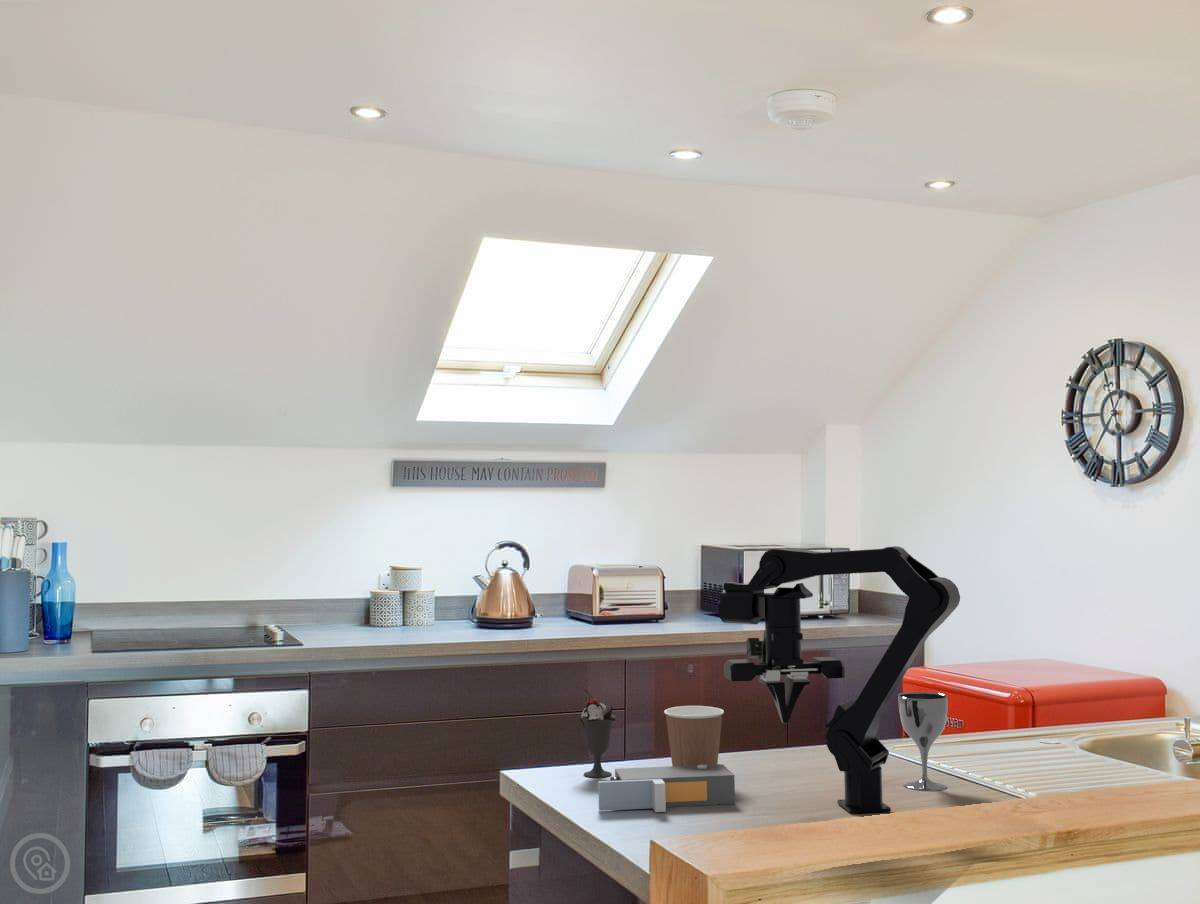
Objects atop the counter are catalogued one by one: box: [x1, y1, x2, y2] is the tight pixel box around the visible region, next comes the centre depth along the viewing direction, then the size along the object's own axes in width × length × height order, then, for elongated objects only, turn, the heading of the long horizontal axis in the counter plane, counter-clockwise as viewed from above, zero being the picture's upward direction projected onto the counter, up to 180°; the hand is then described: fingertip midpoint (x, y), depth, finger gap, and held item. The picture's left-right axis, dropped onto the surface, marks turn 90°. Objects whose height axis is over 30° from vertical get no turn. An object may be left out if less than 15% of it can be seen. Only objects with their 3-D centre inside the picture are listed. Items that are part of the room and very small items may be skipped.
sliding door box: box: [609, 763, 736, 808], centre depth 186 cm, size 8×19×5 cm, turn 97°
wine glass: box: [897, 691, 948, 792], centre depth 194 cm, size 8×8×15 cm
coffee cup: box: [663, 705, 725, 766], centre depth 200 cm, size 10×10×12 cm
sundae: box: [578, 688, 616, 779], centre depth 205 cm, size 7×7×15 cm
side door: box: [597, 779, 667, 813], centre depth 179 cm, size 3×10×4 cm, turn 97°
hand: (784, 722), depth 187 cm, fingers closed
